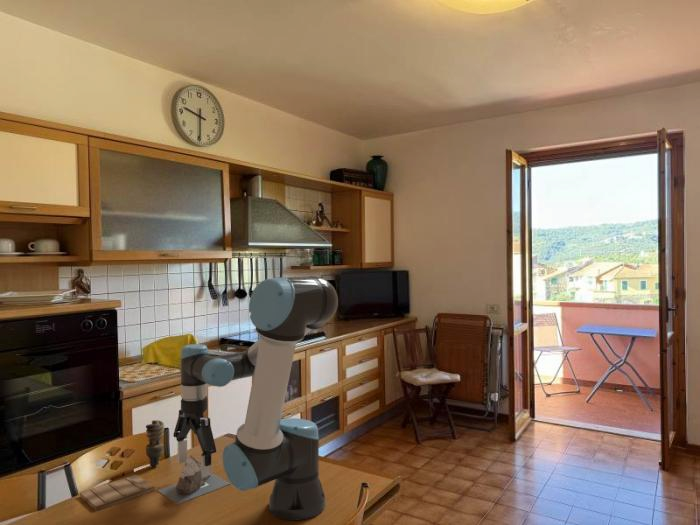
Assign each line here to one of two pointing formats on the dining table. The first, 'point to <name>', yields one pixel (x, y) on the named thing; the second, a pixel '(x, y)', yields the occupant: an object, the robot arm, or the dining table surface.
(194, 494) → the card
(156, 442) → the dark grey lumpy column
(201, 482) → the stone
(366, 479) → the dining table surface
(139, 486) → the brown flat segmented slab
